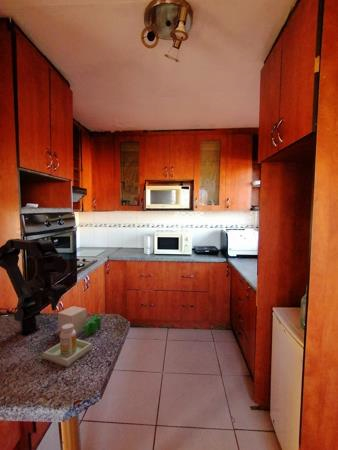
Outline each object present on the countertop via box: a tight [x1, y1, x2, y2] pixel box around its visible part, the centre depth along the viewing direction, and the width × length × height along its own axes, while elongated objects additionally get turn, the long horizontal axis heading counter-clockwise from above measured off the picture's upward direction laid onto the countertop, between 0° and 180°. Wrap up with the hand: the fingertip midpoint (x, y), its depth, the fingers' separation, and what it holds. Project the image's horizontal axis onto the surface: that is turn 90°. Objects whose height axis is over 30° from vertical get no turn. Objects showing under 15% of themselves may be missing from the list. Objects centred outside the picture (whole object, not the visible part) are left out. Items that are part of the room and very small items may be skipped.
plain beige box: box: [52, 305, 88, 338], centre depth 105 cm, size 11×11×9 cm
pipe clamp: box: [83, 314, 102, 337], centre depth 106 cm, size 11×4×5 cm, turn 173°
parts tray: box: [42, 338, 94, 368], centre depth 88 cm, size 12×12×2 cm
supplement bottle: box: [59, 324, 77, 356], centre depth 88 cm, size 5×5×10 cm
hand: (45, 308), depth 100 cm, fingers open, 9 cm apart
